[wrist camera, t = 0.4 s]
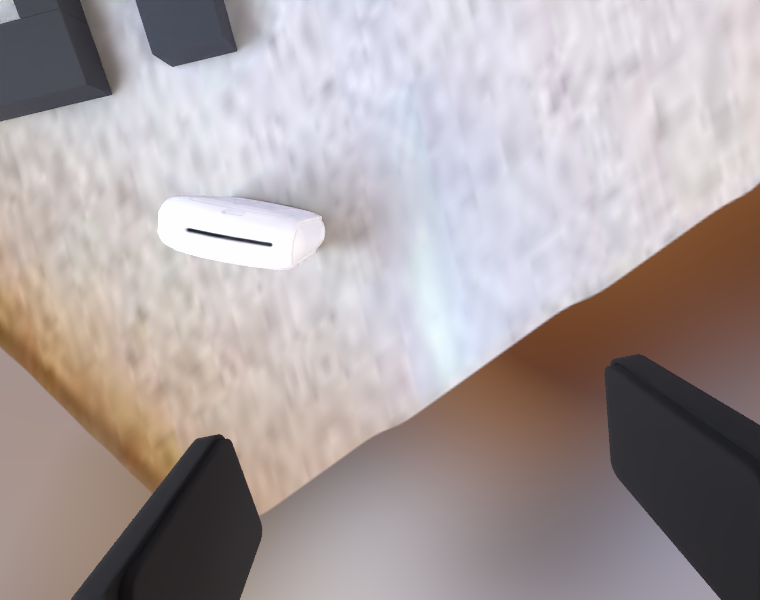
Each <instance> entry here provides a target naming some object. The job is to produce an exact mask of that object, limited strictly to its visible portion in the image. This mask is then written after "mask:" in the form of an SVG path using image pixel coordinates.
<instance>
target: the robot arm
mask: <svg viewBox="0 0 760 600" xmlns="http://www.w3.org/2000/svg"><path fill="white" fill-rule="evenodd" d="M605 386H606V399H607V413H608V428H609V442H610V456H611V464H612V468H613V470H614V472H615V474H616V476H617V477H618V478H619V480H620V481H621V482H622V483H623V484H624V486H625V487H626V488H627V489H628V490H629V492H630V493H631V494H632V495H633V496H634V498H635V499H636V500H637V501H638V502H639V503H640V505H641V506H642V507H643V508H644V509H645V511H646V512H647V513H648V514H649V515H650V516H651V518H652V519H653V520H654V521H655V522H656V524H657V525H658V526H659V527H660V528H661V529H662V531H663V532H664V533H665V534H666V535H667V536H668V538H669V539H670V540H671V541H672V542H673V544H674V545H675V546H676V547H677V548H678V550H679V551H680V552H681V553H682V554H683V555H684V557H685V558H686V559H687V560H688V561H689V562H690V564H691V565H692V566H693V567H694V568H695V569H696V571H697V572H698V573H699V574H700V575H701V577H702V578H703V579H704V580H705V581H706V583H707V584H708V585H709V586H710V587H711V588H712V589H713V591H714V592H715V593H716V594H717V595H718V597H719V598H720V599H721V600H760V425H759V424H757V423H755V422H754V421H752V420H750V419H748V418H747V417H745V416H744V415H742V414H740V413H739V412H737V411H735V410H733V409H732V408H730V407H729V406H727V405H725V404H724V403H722V402H720V401H718V400H717V399H715V398H713V397H712V396H710V395H708V394H707V393H705V392H703V391H702V390H700V389H698V388H697V387H695V386H693V385H692V384H690V383H688V382H687V381H685V380H683V379H682V378H680V377H678V376H676V375H675V374H673V373H672V372H670V371H668V370H667V369H665V368H663V367H662V366H660V365H658V364H656V363H655V362H653V361H651V360H650V359H648V358H646V357H645V356H643V355H640V354H636V355H631V356H626V357H621V358H616V359H613V360H612V361H611V364H610V366H607V367H606V368H605ZM261 537H262V525H261V521H260V518H259V515H258V513H257V510H256V507H255V504H254V502H253V499H252V496H251V493H250V491H249V488H248V485H247V482H246V480H245V477H244V474H243V471H242V469H241V466H240V463H239V460H238V458H237V455H236V452H235V449H234V447H233V444H232V442H231V441H230V439H225V438H224V437H223V436H222V435H220V434H218V435H213V436H208V437H203V438H198V439H196V440H195V441H194V442H193V443H192V444H191V446H190V447H189V448H188V449H187V451H186V452H185V453H184V455H183V456H182V457H181V458H180V460H179V461H178V462H177V464H176V465H175V466H174V467H173V469H172V470H171V471H170V473H169V474H168V475H167V476H166V478H165V479H164V480H163V482H162V483H161V484H160V485H159V487H158V488H157V489H156V491H155V492H154V493H153V494H152V496H151V497H150V498H149V500H148V501H147V502H146V503H145V505H144V506H143V507H142V509H141V510H140V511H139V513H138V514H137V515H136V516H135V518H134V519H133V520H132V521H131V523H130V524H129V525H128V527H127V528H126V529H125V531H124V532H123V533H122V534H121V536H120V537H119V538H118V539H117V541H116V542H115V543H114V545H113V546H112V547H111V548H110V550H109V551H108V552H107V554H106V555H105V556H104V557H103V559H102V560H101V561H100V563H99V564H98V565H97V566H96V568H95V569H94V571H93V572H92V573H91V574H90V575H89V577H88V578H87V579H86V581H85V582H84V583H83V584H82V586H81V587H80V588H79V590H78V591H77V592H76V593H75V595H74V596H73V597H72V599H71V600H240V597H241V594H242V592H243V589H244V586H245V583H246V580H247V577H248V575H249V572H250V569H251V566H252V564H253V561H254V558H255V555H256V552H257V549H258V547H259V544H260V541H261Z"/></svg>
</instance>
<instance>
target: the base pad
mask: <svg viewBox="0 0 760 600" xmlns="http://www.w3.org/2000/svg"><path fill="white" fill-rule="evenodd" d="M13 1H14V4H15V6H16V9H17V12H18V14H19V17H20V18H21V19H18V20H14V21H10V22H6V23H2V24H0V121H3V120H8V119H12V118H16V117H20V116H24V115H28V114H33V113H37V112H41V111H45V110H49V109H54V108H58V107H62V106H66V105H70V104H74V103H79V102H83V101H87V100H91V99H95V98H100V97H104V96H108V95H112V92H111V89H110V87H109V84H108V81H107V78H106V75H105V72H104V69H103V67H102V64H101V61H100V58H99V55H98V52H97V49H96V46H95V44H94V41H93V38H92V35H91V32H90V29H89V26H88V24H87V21H86V18H85V15H84V12H83V9H82V6H81V4H80V1H79V0H13Z"/></svg>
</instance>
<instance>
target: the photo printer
mask: <svg viewBox="0 0 760 600" xmlns="http://www.w3.org/2000/svg"><path fill="white" fill-rule="evenodd" d="M158 218H159V227H158V234H159V236H160V238H161V240H162V241H163V242H164V243H165V244H166V245H168V246H170V247H172V248H174V249H176V250H178V251H181V252H184V253H187V254H191V255H194V256H198V257H202V258H207V259H211V260H216V261H221V262H226V263H231V264H237V265H243V266H250V267H257V268H265V269H277V270H286V269H294V268H296V267H298V266H299V265H300V264H302V263H303V262H305V261H306V260H307V259H309V258H310V257H311V256H313V255H314V254H315V253H316V252H317V248H318V247H319V246H320V245H321V244H322V242H323V240H324V237H325V227H324V224H323V222H322V220H321V219H322V217H321V216H320V215H318V214H315V213H313V212H310V211H306V210H302V209H297V208H293V207H288V206H283V205H279V204H273V203H268V202H263V201H258V200H252V199H245V198H239V197H207V196H175V197H171V198H169V199H168V200H166V201H165V202H164V203H163V205H162V206H161V208H160V210H159V212H158Z"/></svg>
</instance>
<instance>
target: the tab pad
mask: <svg viewBox="0 0 760 600" xmlns="http://www.w3.org/2000/svg"><path fill="white" fill-rule="evenodd" d="M136 3H137V6H138V10H139V13H140V16H141V19H142V22H143V25H144V29H145V32H146V35H147V38H148V41H149V44H150V48H151V51H152V54H153V55H155V56H156V57H158V58H159V59H161V60H163V61H164V62H166V63H167V64H169V65H170V66H172V67H173V66H178V65H182V64H186V63H190V62H194V61H198V60H202V59H207V58H211V57H215V56H219V55H223V54H227V53H231V52H236V51H237V48H236V44H235V41H234V37H233V33H232V29H231V26H230V22H229V18H228V14H227V11H226V7H225V3H224V0H136Z"/></svg>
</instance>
